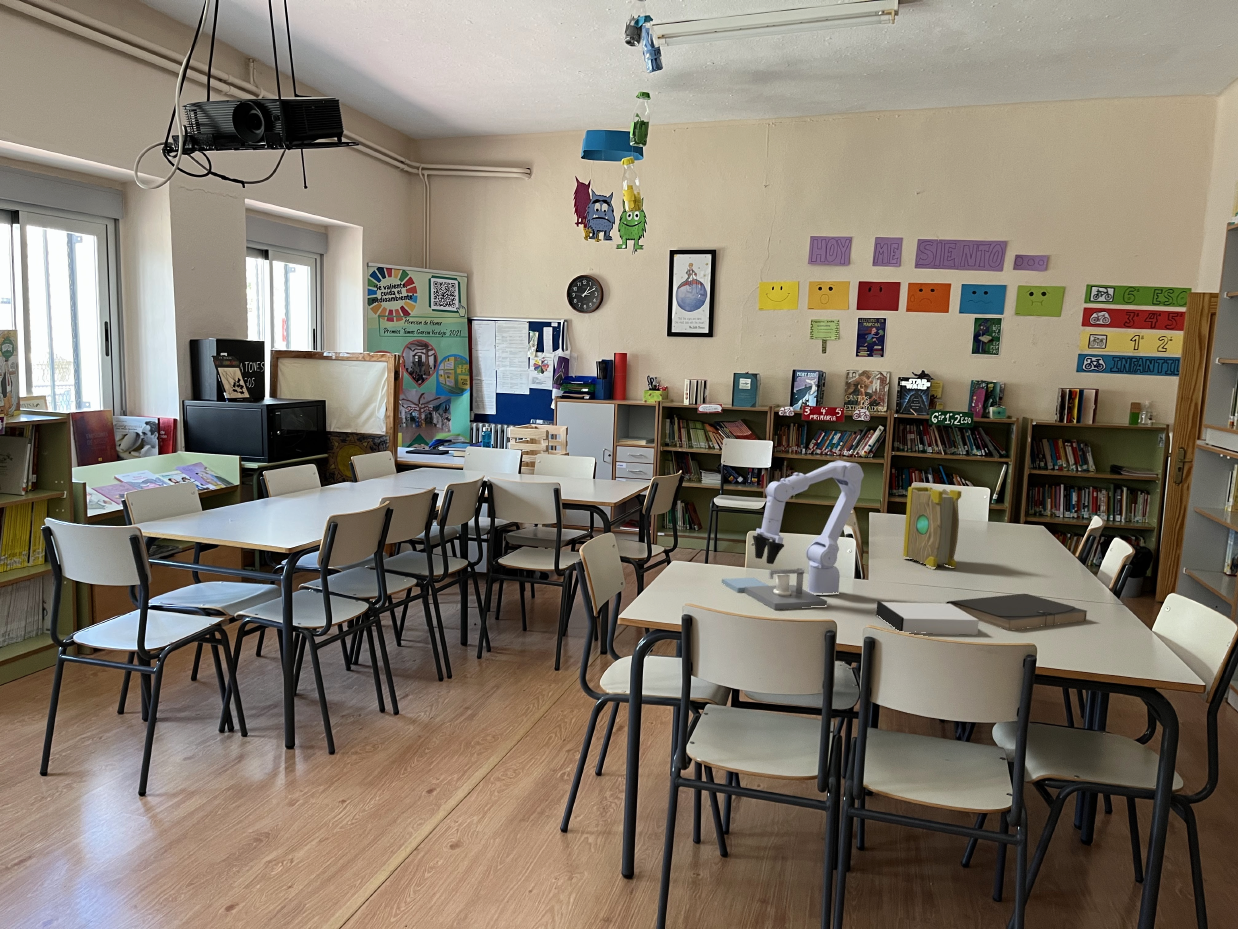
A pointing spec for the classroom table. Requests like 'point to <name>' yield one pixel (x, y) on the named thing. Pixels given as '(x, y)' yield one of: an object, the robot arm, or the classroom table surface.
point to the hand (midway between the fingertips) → (764, 561)
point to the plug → (782, 585)
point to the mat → (742, 583)
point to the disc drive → (927, 618)
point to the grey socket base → (795, 600)
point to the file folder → (1019, 611)
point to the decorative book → (931, 525)
